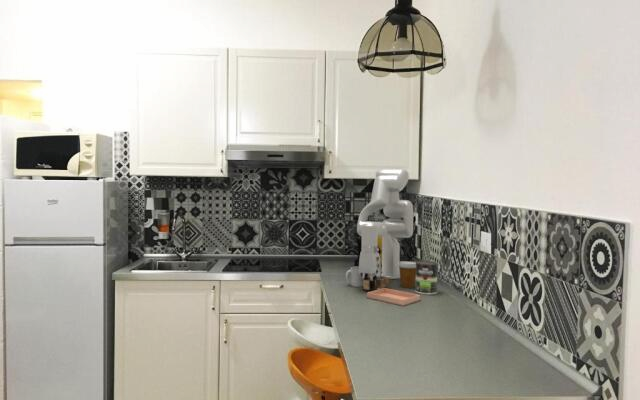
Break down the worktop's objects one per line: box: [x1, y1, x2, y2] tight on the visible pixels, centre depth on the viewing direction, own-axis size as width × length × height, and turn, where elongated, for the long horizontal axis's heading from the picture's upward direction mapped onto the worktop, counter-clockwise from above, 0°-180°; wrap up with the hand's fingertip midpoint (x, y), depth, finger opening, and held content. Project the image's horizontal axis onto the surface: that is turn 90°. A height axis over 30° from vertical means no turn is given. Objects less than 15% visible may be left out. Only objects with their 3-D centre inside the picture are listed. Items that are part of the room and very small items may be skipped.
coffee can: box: [414, 260, 439, 296], centre depth 221 cm, size 10×10×14 cm
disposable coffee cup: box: [398, 260, 417, 289], centre depth 233 cm, size 10×10×12 cm
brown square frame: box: [362, 276, 391, 291], centre depth 225 cm, size 14×8×4 cm, turn 137°
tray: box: [366, 287, 421, 307], centre depth 207 cm, size 13×19×2 cm
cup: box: [345, 265, 363, 288], centre depth 234 cm, size 7×10×9 cm
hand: (369, 287), depth 222 cm, fingers closed on brown square frame, 3 cm apart
